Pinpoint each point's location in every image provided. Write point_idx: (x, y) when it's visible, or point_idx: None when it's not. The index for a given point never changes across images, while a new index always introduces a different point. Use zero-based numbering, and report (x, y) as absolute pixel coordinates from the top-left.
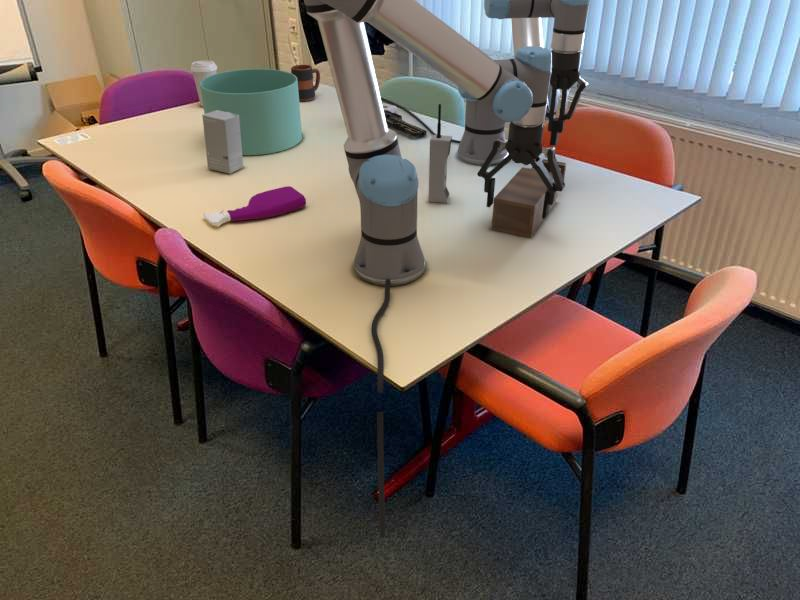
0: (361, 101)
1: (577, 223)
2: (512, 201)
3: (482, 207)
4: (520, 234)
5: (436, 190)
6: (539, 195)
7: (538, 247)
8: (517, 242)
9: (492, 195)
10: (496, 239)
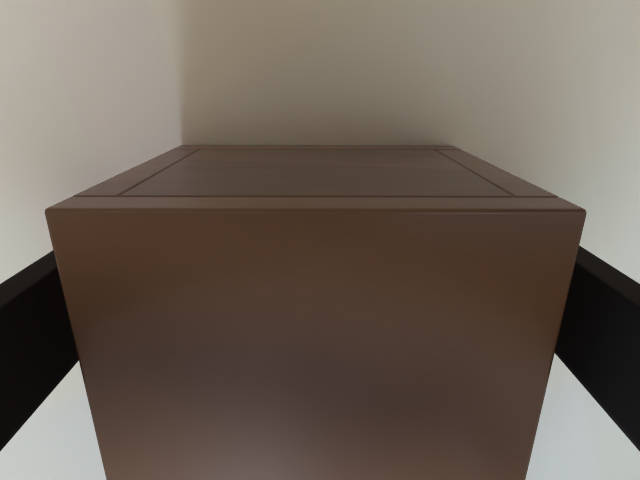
0: None
1: (39, 421)
2: (341, 214)
3: (565, 391)
4: (251, 147)
5: None
6: (136, 469)
7: (81, 33)
8: (235, 40)
9: (593, 347)
10: (382, 15)
